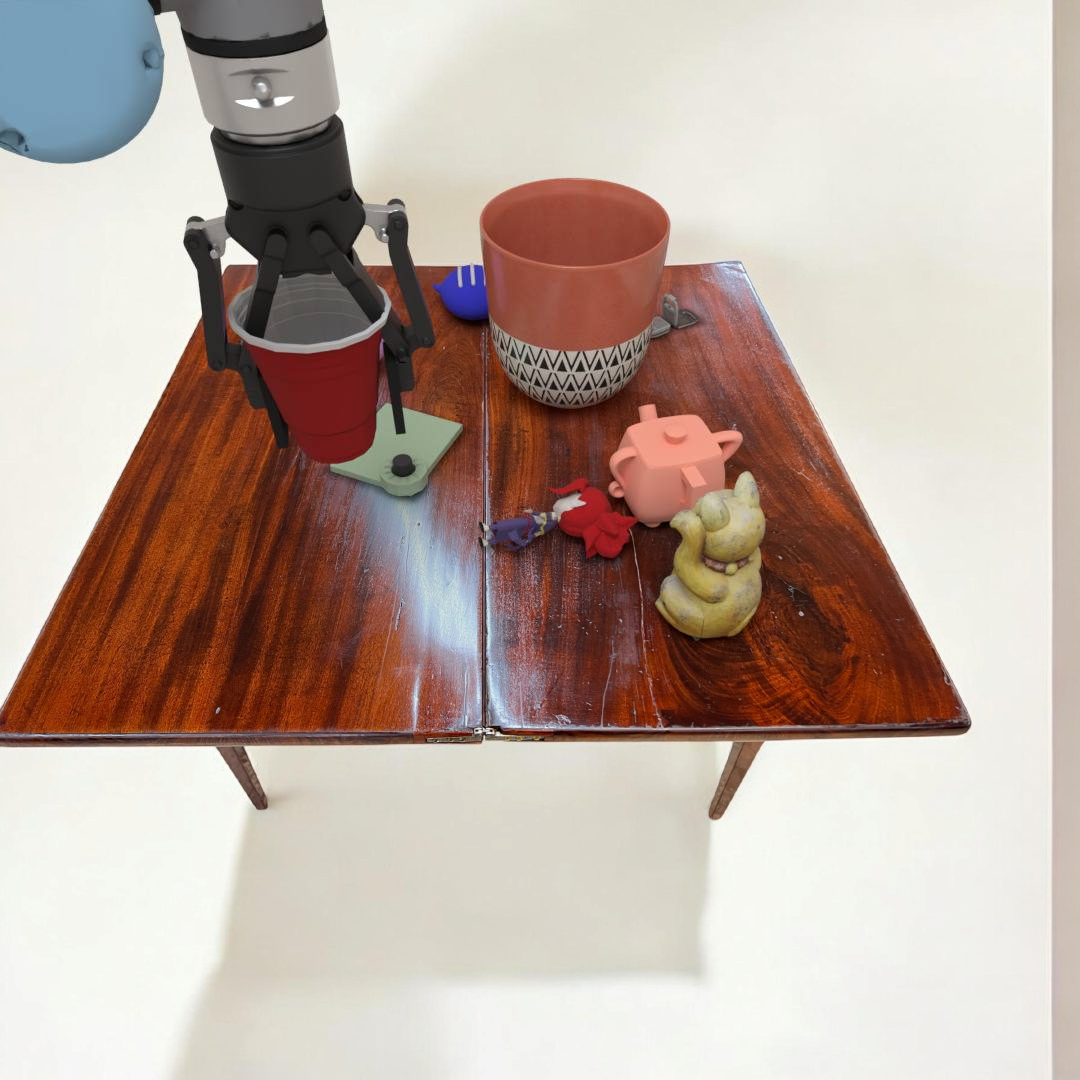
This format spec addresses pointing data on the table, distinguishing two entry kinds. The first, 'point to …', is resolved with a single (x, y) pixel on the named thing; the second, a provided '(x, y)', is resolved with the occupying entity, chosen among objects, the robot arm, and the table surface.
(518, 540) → the figurine
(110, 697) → the table surface
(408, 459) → the tare button
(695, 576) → the decorative figurine
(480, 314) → the decorative object
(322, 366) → the plastic cup
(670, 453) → the teapot
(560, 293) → the planter
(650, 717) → the table surface
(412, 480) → the scale
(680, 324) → the strap clip
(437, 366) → the table surface
